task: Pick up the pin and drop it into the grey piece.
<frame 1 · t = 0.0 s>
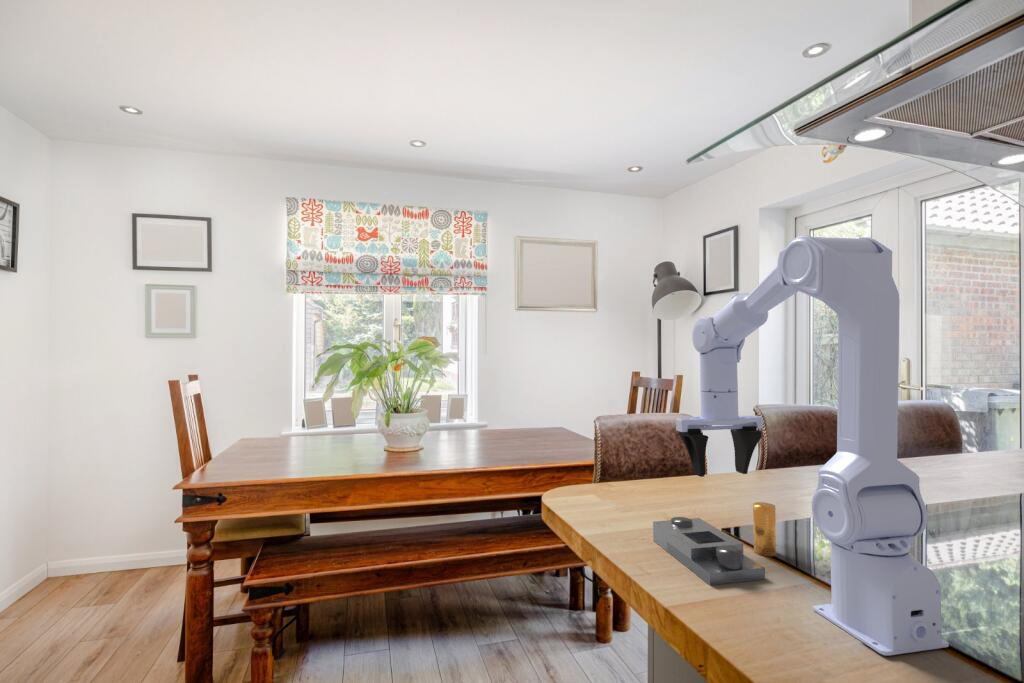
hand: (720, 474, 84), 10 cm above the kitchen island countertop, fingers open, 7 cm apart
pin: (765, 552, 77), on the kitchen island countertop
grey piece: (703, 558, 75), on the kitchen island countertop
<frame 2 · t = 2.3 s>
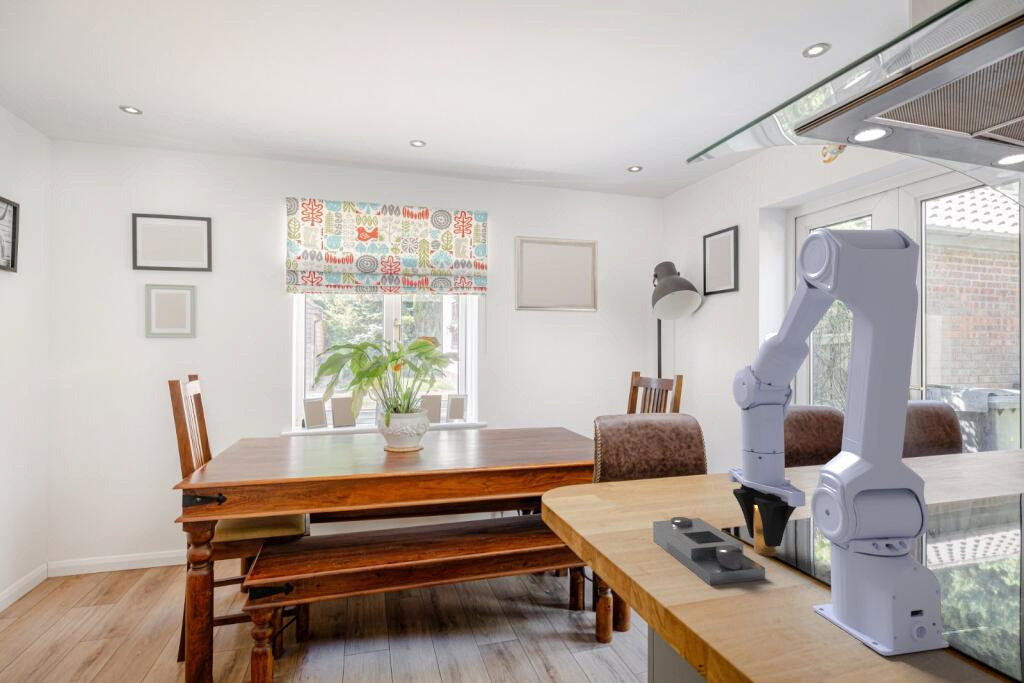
hand: (764, 541, 77), 2 cm above the kitchen island countertop, fingers closed on pin, 3 cm apart
pin: (765, 552, 77), on the kitchen island countertop, touching gripper
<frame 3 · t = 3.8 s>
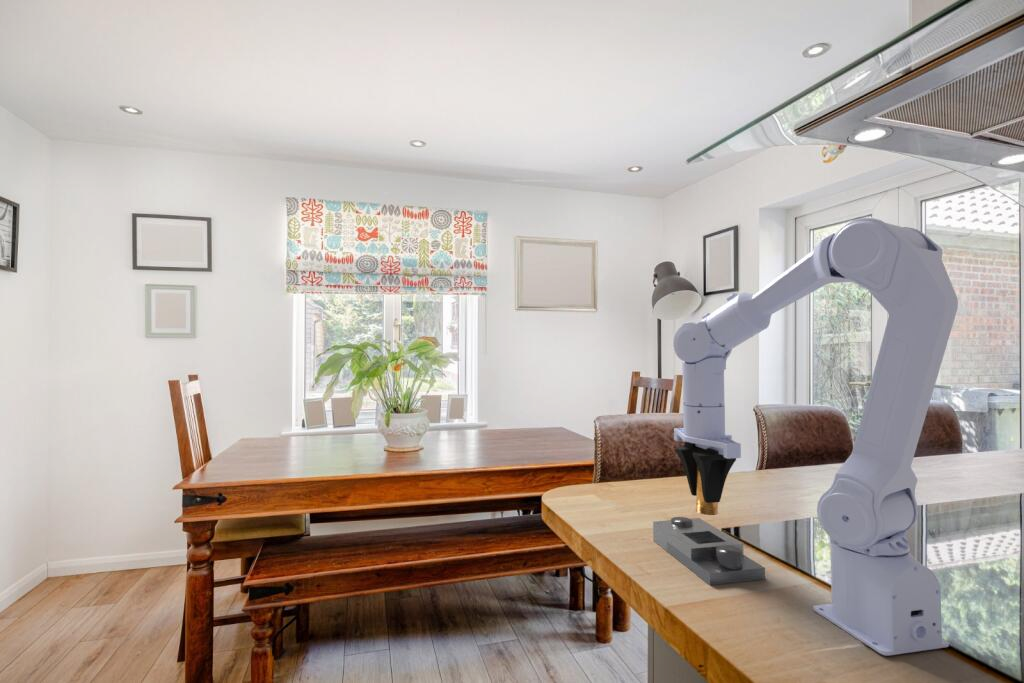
hand: (705, 498, 75), 9 cm above the kitchen island countertop, fingers closed on pin, 3 cm apart
pin: (706, 511, 75), point 7 cm above the kitchen island countertop, touching gripper
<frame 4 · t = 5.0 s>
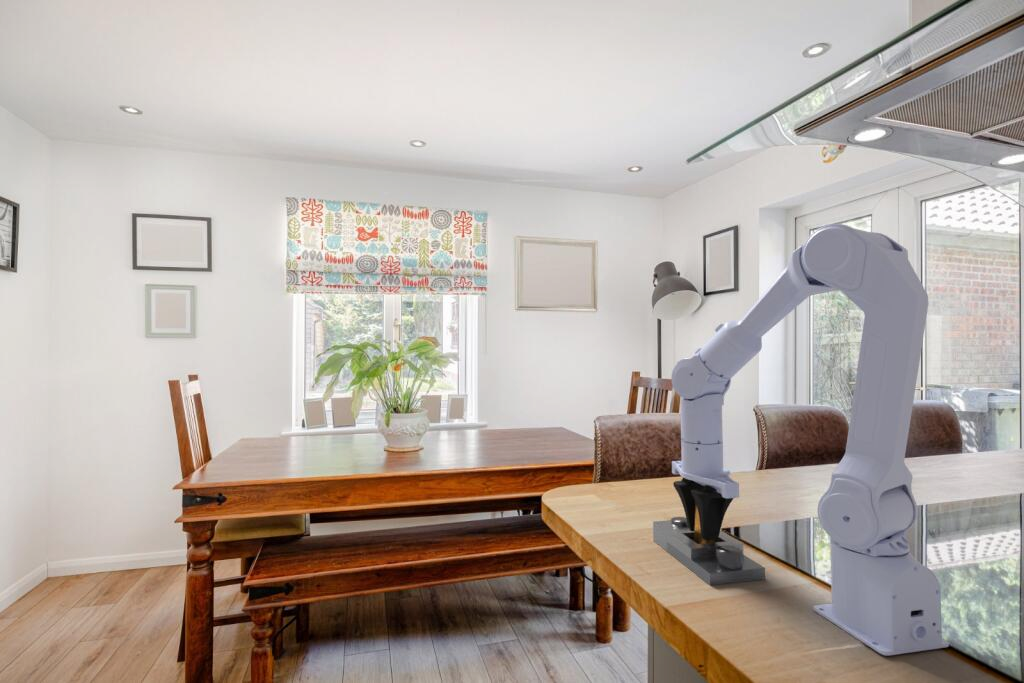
hand: (703, 534, 75), 3 cm above the kitchen island countertop, fingers closed on pin, 3 cm apart
pin: (704, 548, 75), point 1 cm above the kitchen island countertop, touching gripper
when the fingers open (3 cm above the kitchen island countertop, at t = 5.5 s): pin drops 1 cm, resting in grey piece.
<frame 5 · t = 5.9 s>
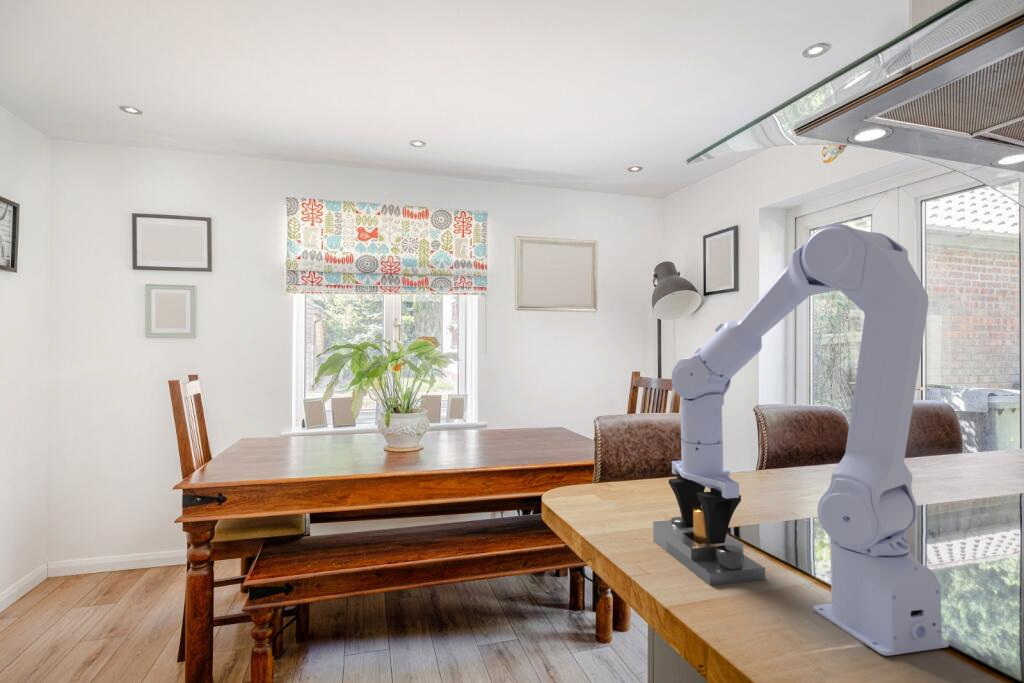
hand: (703, 534, 75), 3 cm above the kitchen island countertop, fingers open, 6 cm apart
pin: (705, 558, 75), resting in grey piece
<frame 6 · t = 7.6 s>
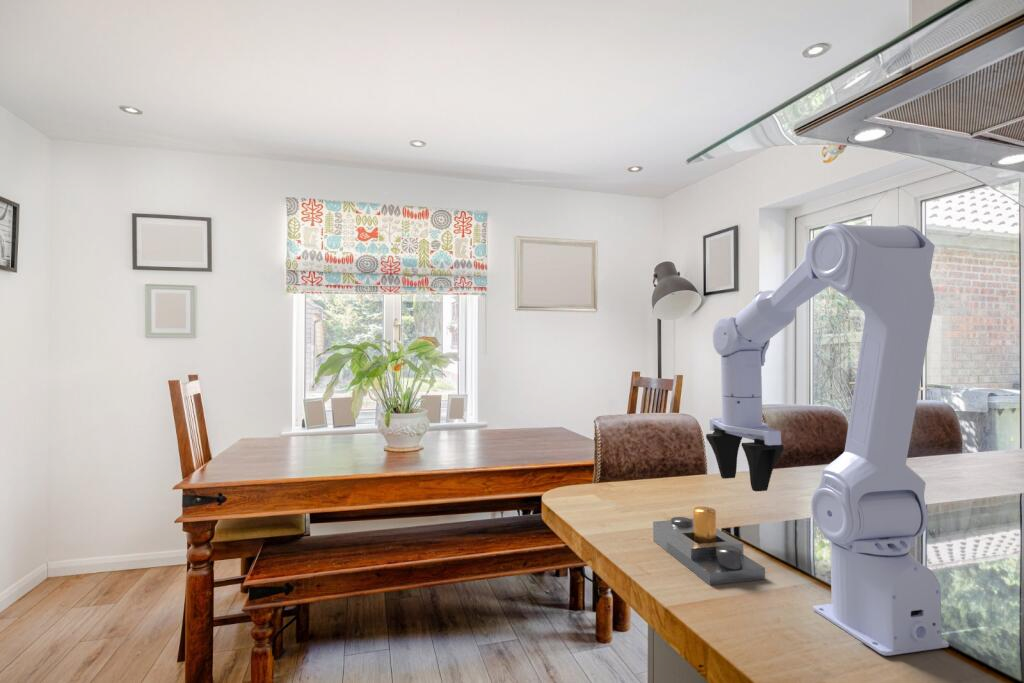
hand: (743, 483, 80), 9 cm above the kitchen island countertop, fingers open, 7 cm apart
nothing on the kitchen island countertop moved.
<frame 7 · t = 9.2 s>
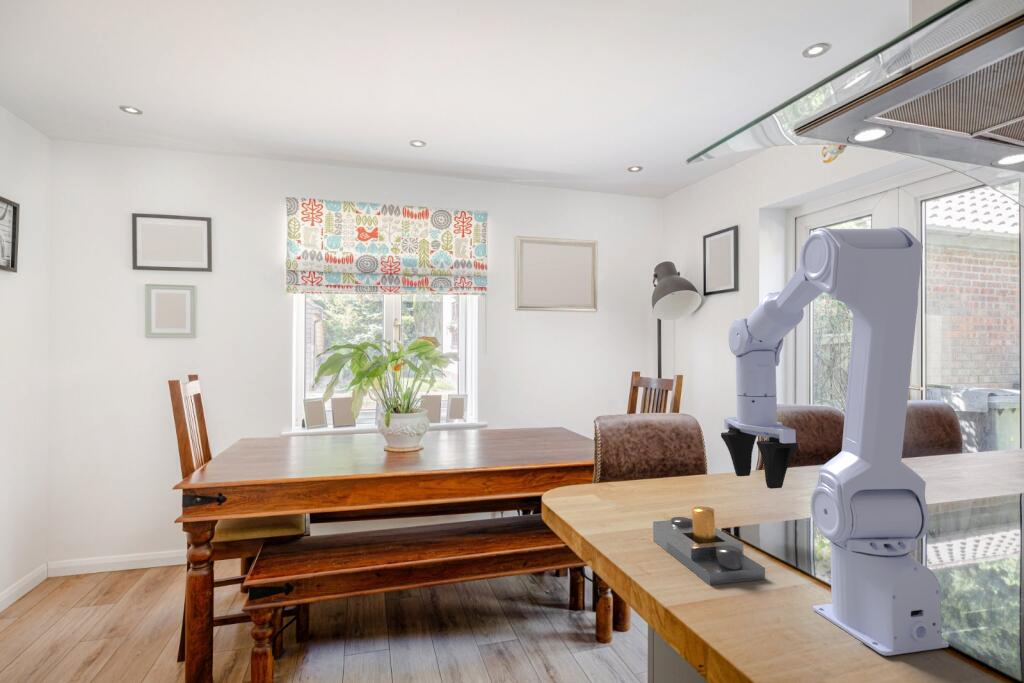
hand: (758, 481, 81), 9 cm above the kitchen island countertop, fingers open, 7 cm apart
nothing on the kitchen island countertop moved.
at the end: pin 0.2 cm off-centre on the grey piece, point 0.0 cm above the grey piece's base; pin tilted 1°; the gripper is holding nothing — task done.
